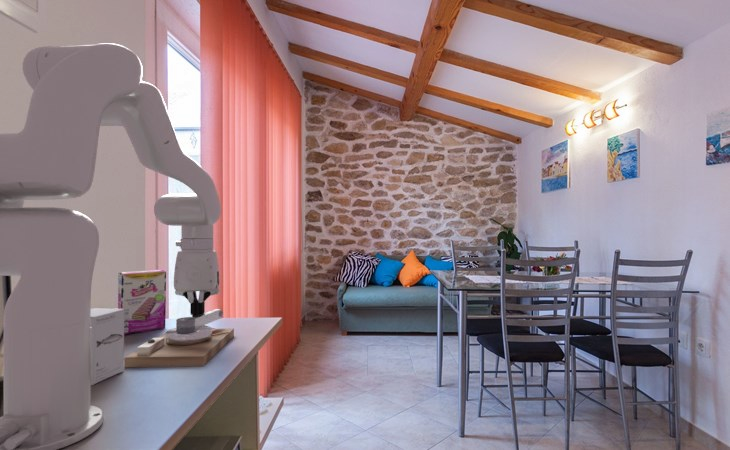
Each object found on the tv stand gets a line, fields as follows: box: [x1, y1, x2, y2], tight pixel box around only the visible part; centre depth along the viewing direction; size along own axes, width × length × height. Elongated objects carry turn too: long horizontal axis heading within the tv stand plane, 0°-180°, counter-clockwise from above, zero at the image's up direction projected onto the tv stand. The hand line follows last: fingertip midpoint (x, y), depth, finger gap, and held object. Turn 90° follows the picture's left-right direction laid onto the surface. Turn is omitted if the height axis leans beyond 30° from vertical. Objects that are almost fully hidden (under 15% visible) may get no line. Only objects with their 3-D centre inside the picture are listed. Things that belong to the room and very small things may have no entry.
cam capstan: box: [165, 308, 224, 345], centre depth 98 cm, size 18×10×5 cm, turn 167°
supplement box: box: [90, 307, 125, 386], centre depth 76 cm, size 7×7×13 cm
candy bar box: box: [117, 269, 167, 336], centre depth 110 cm, size 11×5×16 cm, turn 133°
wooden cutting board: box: [124, 328, 235, 368], centre depth 93 cm, size 22×16×4 cm
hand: (197, 317), depth 101 cm, fingers closed
